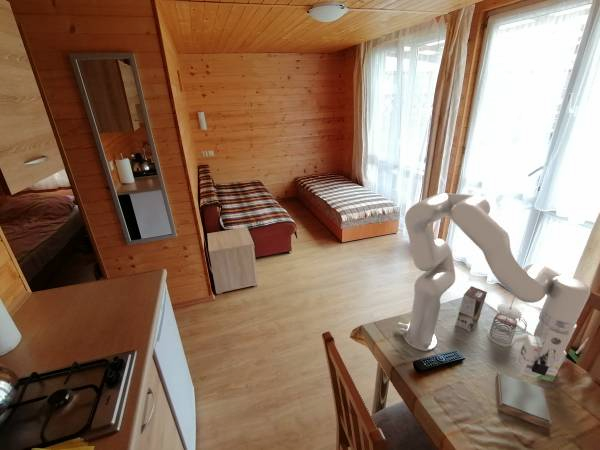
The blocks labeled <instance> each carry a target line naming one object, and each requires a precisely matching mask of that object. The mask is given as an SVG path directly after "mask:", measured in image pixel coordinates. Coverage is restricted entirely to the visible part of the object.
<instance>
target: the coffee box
mask: <svg viewBox="0 0 600 450" xmlns="http://www.w3.org/2000/svg"><path fill="white" fill-rule="evenodd" d="M487 294H488V292H487V291H485V290H484V289H483V290H482V289H480V288H477V287H474V286H472V285H471V286H470V287H469V288H468V289H467V291H465V292H464V293H463V296H462V300H461V303H460V307H459V310H458V315H457V318H456V322H455V325H456V326H457V327H460V328H461V329H464V330H466V331H468V332H470V333H471V331H473V329H474V328H475V326H476V325H477V324H478V323H479V320H480V316H481V314H482V310H483V307H484V304H485V299H486V298H487Z"/></svg>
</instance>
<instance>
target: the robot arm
mask: <svg viewBox="0 0 600 450" xmlns="http://www.w3.org/2000/svg"><path fill="white" fill-rule="evenodd" d="M490 211H491V206H490V203H489V201H488V200H487V199H486V198H484V197H482V196H480V195H474V194H464V193H463V194H462V193H449V192H441V193H436V194H433V195H432V196H429V197H427V198H424V199H422V200H420V201H418V202H417V203H415V204H413V205H412V206H411V207H410V208H408V209H407V211H406V213H405V216H404V222H405V223H404V224H405V228H406V231H407V235H408V239H409V240H408V241H409V245H410V250H411V254H412V259H413V264H414V265H415V267H416V268H417V270H419V271H421V272H423V273H422V274H421V275H419V277H418V278H417V279H416V280H415V282H414V287H413V288H414V290H413V291H414V294H413V295H414V298H413V303H412V308H411V309H412V310H411V315H410V321H409V323H406V324H405V323H403V322H401V321H399V322H398V323H397V327H399V330H398V331H399V332H403V338H404V340H405V342H406V343H407V345H409V346H410V347H412V348H413V349H415V350H418V351H426V352H427V351H432V350H433V349H435V348H436V346H437V342H438V341H437V338H436V335H435V332H436V328H437V325H438V320H439V315H440V309H441V297H443V294H444V293H446V292H447V290H448V289H450V288H451V287H452V286H453V285H454V283H455V282H456V271H455V265H454V260H453V254H452V249H451V247H450V246H449V244H448V243H447V241H445V240H444V239H442V238H439V237H435V234H434V230H433V229H432V227H431V226H430V225H431V224H432V223H435V222H437V221H439V220H441V219H444V218H445V217H450V219H451V221H452V222H453V223H454V224H455V225H456V226H457V227H458V229H460V230H461V231H462V232H463V233H464V235H466V236H467V237H468V239H470V240H471V242H473V244H474V245H476V247H478V248H479V250H480V251H482V253H483V256H484V258H485V260H486V263H487V265H488V267H489V269H490V271H491V273H492V274H493V276H494V278H496V279H497V281H498V282H499V283H500V284H501V285H502V286H503V287H504V288H505V289H506V290H507V291H508V292H509V293H510V294H511V295H513V297H514V296H515V298H516V299H518V300H520V301H522V302H525V303H531V304H532V303H537V302H540V301H542V300H543V299H544V297H545V296H546V298H545V301H544V302H543V306H542V308H541V310H540V313H539V315H538V320H539V321H538V323H537V325H536V327H535V330H534V333H533V336H535V337H536V341H537V344H538V351H537V352H538V354H539V356H538V360H537V361H535V363H534V365H533V367H532V372H535V373H538V374H541V375H545V374H546V372H547V370H548V368H549V367H551V368H552V366H553V358H554V360H555V361H557V362H559V361H560V360H561V357H562V355H563V352H564V350H565V351H566V349H565V347H566V344H567V341H568V337H569V332H571V331H572V330H573V328H574V326H575V324H576V325H577V322H578V320H579V318H580V316H581V314H582V311H583V310H584V307H585V305H586V303H588V300H589V297H590V295H591V288H590V286H589V285H588V284H587V283H586V282H584V281H582V280H580V279H578V278H575V277H570V276H569V277H568V276H566V275H564V274H561V273H559V272H558V271H555V270H553V269H552V268H549V267H547V266H545V265H543V264H537V263H532V264H528V265H526V266H525V267H524V268H523V267H522V266H521V265H520V264H519V263H518V261H517V260H516V259H515V257H514V255H513V253H512V250H511V241H510V235H509V233H508V232H507V231H506V230H505V229H504V228H503V227H501V226H500V224H498V222H496V221H495V220H494V219H493V218H492V217H491V216H490V215H489V214H490ZM566 348H567V347H566ZM546 354H547V355H546ZM542 357H544V358H546V361H543V360H542Z"/></svg>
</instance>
